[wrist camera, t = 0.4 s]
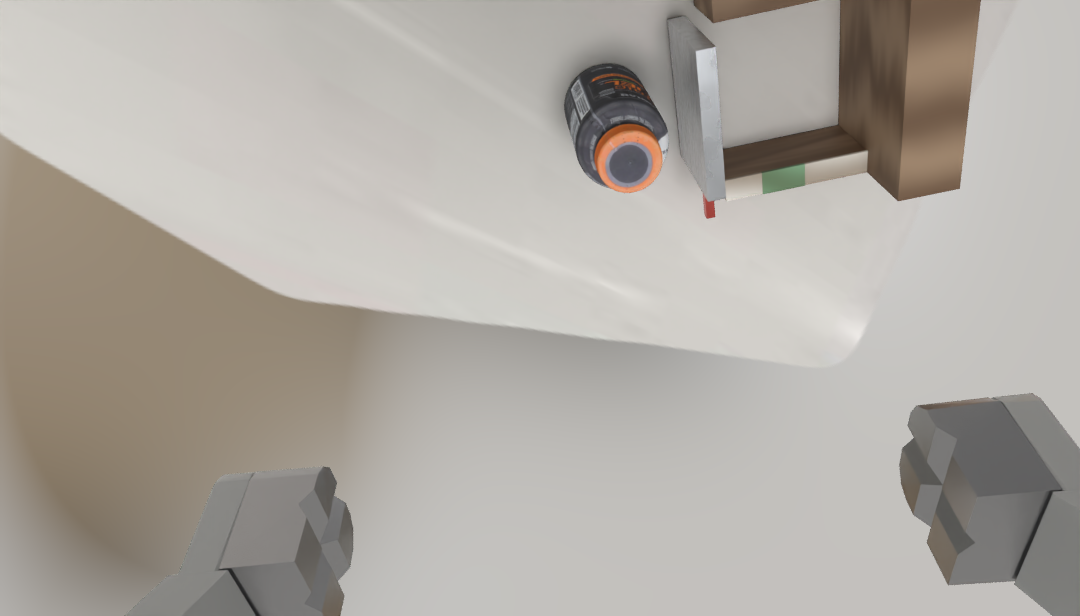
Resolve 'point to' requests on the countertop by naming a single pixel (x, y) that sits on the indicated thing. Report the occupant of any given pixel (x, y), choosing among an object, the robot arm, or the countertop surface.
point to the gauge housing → (874, 101)
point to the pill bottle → (615, 128)
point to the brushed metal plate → (698, 108)
